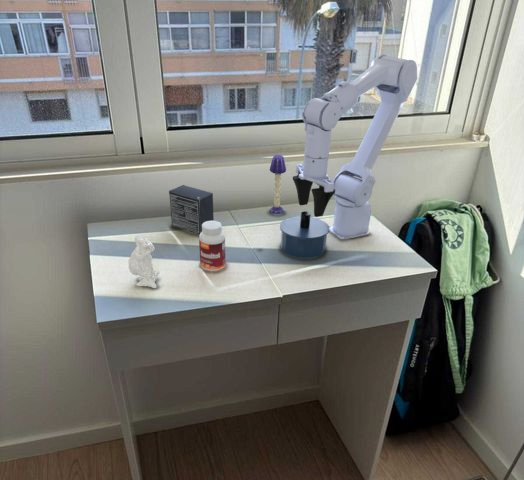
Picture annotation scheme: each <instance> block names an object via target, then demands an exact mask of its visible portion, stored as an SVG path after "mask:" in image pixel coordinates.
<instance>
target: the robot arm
mask: <svg viewBox="0 0 524 480" xmlns="http://www.w3.org/2000/svg"><path fill="white" fill-rule="evenodd" d="M417 81H418V65H417V63H416V60H414V59H405V58H400V57H394V56H389V55H387V54H384V53H383V54H379V55H378V56H377V57H376V58H373V60H372V62H371V63H370V67H368V68H367V69H366V70H365V71H364V72H362V73H361V74H359V76H357V77H356V78H355V79H354V80H353V81H351V82H349V81H339V82H338V83H337V86H335V87H334V88H333V89H331V90H330V91H328V92H325V93H324V94H323V95H322V96H321V97H320V98H319V97H313V98H312V99H310V100H308V102H307V103H306V104H305V106H304V109H303V111H302V112H301V117H302V121H303V122H304V131H305V142H304V143H305V144H304V155H303V163H299V164H296V165H295V173H296V174H297V175H294V176H292V180H293V183H294V185H295V188H296V192H297V193H296V194H297V200H298V205H299V206H307V205H308V203H309V199H310V194H312V197H313V215H314V216H313V217H314V218H319V217H323V216H324V214H325V212H326V209H327V206H328V204H329V202H330V200H331V199H332V198H333V196H334V199H333V200H335V207H334V215H333V216H334V217H333V224H332V225H330V226H329V225H328V226H329V232H331V233H332V234H334V235H335V236H336V237H338V238H339V239H341V240H345V239H355V238H359V237H363V236H367V235H368V236H369V235H370V232H369V227H370V221H371V215H372V206H371V204H370V198H371V196H372V194H373V188H374V186H375V183H376V179H375V175H374V174H373V172H372V169H373V166H374V165H375V163H376V161H377V160H378V158H379V157H378V156H379V155H380V153H381V151H382V149H383V147H384V145H385V144H386V143H385V142H386V140H387V139H388V137H389V134H390V132H391V131H392V129H393V127H394V124H395V123H396V120H397V119H398V116H399V114H400V113H401V111H402V108H403V106H404V104H405V102H407V101H408V98H409V97H410V95H411V93H412V91H413V89H414V87H415V85H416V83H417ZM373 89H375V91H376V93H377V96H378V97H380V104H379V105H378V108H377V110H376V112H375V113H374V116H373V118H372V120H371V122H370V125H369V126H368V129H367V130H366V133H365V135H364V137H363V139H362V140H361V143H360V145H359V147H358V149H357V151H356V153H355V155H354V158H353V159H352V161H351V162H348V163H346V164H344V165H342V166H341V168H340V170H339V172H338V173H337V174H336V175H335V176H334V178H333V179H332V180H331V178H330V176H329V175H328V174H327V173H328V164H329V156H330V147H331V138H332V131H333V130H334V128H335V127H336V126H337V124H338V122H339V120H340V119H341V118H342V116H343V115H344V114H345V113H347V112H348V111H349V110H351V109H352V108H354V107H356V106H357V105H358V102H359V97H361V96H363V95H364V94H366V93H368V92H370V91H371V90H373ZM313 183H314V184H315V185H317V186H318V187H315V188H312V186H313Z"/></svg>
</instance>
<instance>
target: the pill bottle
mask: <svg viewBox="0 0 524 480" xmlns="http://www.w3.org/2000/svg"><path fill="white" fill-rule="evenodd" d="M222 230H223V224H222V223H221V222H220V221H218V220H214V221H206V222H204V223H203V224H202V232H201V233H200V235H198V243H199V244H198V245H199V265H200V268H202V269H203V270H205V271H213V272H214V271H220V270H222V269H224V268H225V266H226V235H225V233H224V232H223V231H222Z"/></svg>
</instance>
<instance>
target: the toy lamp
mask: <svg viewBox="0 0 524 480" xmlns="http://www.w3.org/2000/svg"><path fill="white" fill-rule="evenodd" d="M269 171H270V173H271V174H274V192H273V193H274V194H273V201H274V203H273V206H272V207H271V208H270V209H269V212H270V213H271V214H273V215H274V214H275V215H282V214H283V213H284V212H285V211H284V208H283V207H282V206H281V191H282V188H281V186H282V182H281V181H282V177H281V176H282V174H285V173H286V172H287V166H286V161H285V157H284V156H283V155H282V154H275V155H273V157H272V158H271V163H270V167H269Z"/></svg>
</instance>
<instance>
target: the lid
mask: <svg viewBox="0 0 524 480" xmlns="http://www.w3.org/2000/svg"><path fill="white" fill-rule="evenodd" d="M311 215H312V214H311V212H310V211H305V210H304V211H302V212H300V216H292V217H287V218H286V219H283V220H282V221H281V222H280V225H279V229H280V231H281V233H282V232H283V233H284V234H285V235H287V236H290V237H292V238H296V239H304V240H312V239H318V238H322V237H324V236H326V235H327V236H328V234H329V233H330V230H329V228H330V227H329V223H327V222H326V221H324V220H322V219H320V218H318V217H314V216H313V217H312V216H311Z"/></svg>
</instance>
